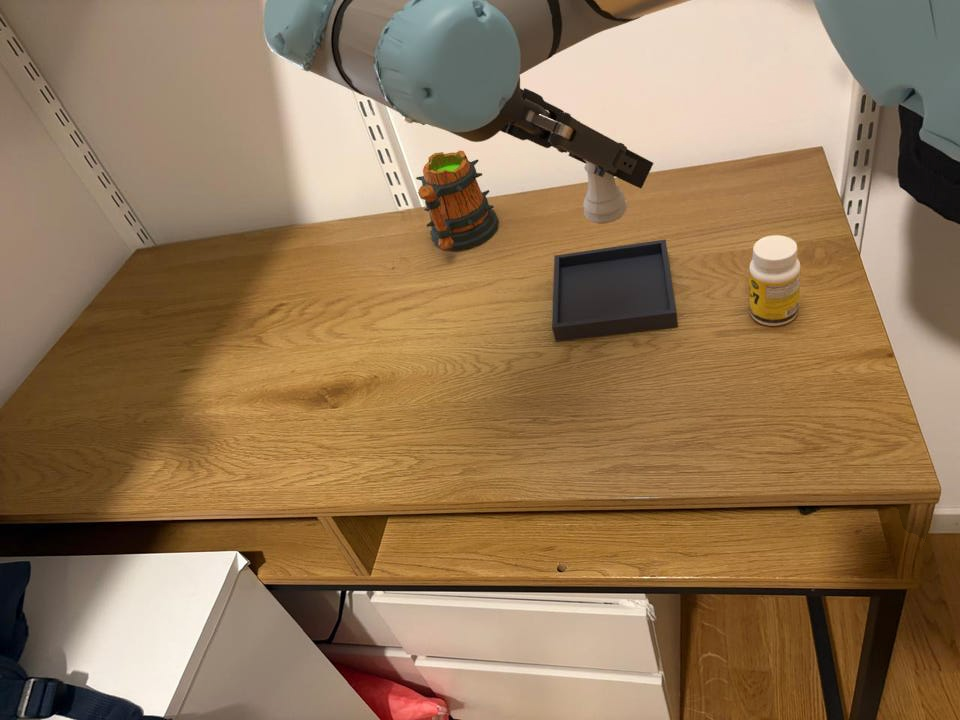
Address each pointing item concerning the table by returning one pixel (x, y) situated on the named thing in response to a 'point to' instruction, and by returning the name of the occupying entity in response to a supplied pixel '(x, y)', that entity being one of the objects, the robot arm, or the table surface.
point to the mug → (456, 203)
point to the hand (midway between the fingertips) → (630, 168)
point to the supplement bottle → (774, 281)
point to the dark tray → (613, 291)
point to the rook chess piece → (603, 197)
